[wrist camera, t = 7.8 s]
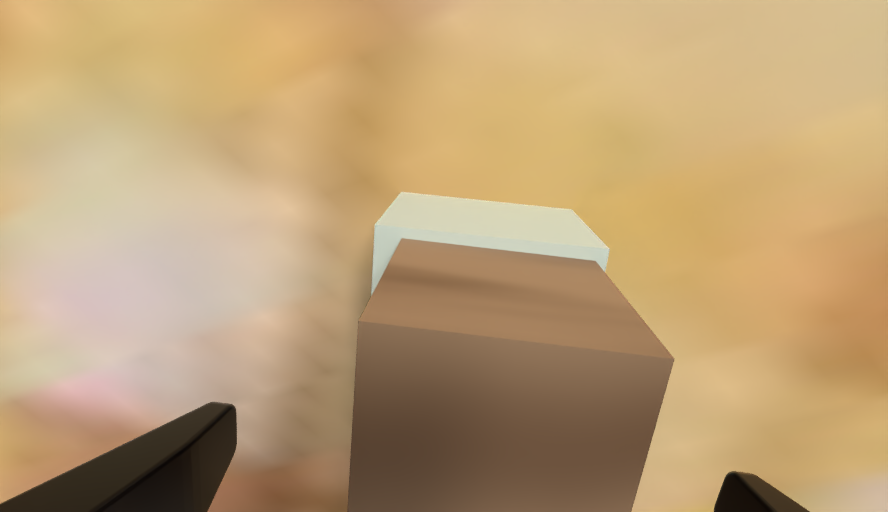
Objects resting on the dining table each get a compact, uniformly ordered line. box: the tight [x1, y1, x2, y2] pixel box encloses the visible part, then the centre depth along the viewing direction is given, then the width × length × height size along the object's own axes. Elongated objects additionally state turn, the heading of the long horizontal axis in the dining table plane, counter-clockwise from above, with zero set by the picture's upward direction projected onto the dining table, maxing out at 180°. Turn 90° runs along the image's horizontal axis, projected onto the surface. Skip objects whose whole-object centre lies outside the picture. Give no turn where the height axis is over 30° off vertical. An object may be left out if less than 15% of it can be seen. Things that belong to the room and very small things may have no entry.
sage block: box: [371, 192, 610, 296], centre depth 16 cm, size 6×6×5 cm
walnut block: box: [347, 238, 674, 512], centre depth 11 cm, size 5×5×5 cm
